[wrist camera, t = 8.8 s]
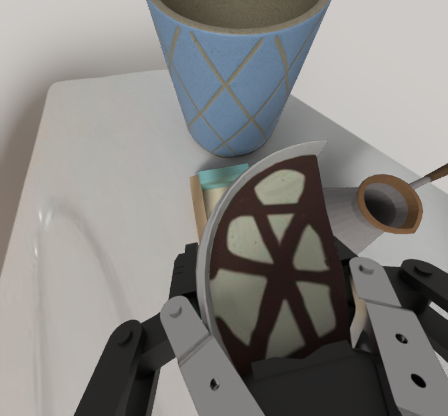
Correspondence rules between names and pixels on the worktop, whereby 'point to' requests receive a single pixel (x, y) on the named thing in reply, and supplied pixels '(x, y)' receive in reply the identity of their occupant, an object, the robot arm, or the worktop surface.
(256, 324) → the food container
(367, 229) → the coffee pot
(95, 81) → the worktop surface
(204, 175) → the channel board
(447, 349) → the robot arm
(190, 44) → the planter
